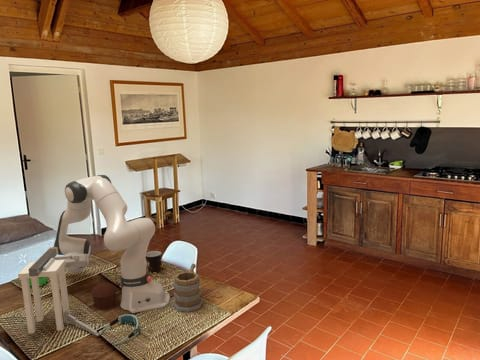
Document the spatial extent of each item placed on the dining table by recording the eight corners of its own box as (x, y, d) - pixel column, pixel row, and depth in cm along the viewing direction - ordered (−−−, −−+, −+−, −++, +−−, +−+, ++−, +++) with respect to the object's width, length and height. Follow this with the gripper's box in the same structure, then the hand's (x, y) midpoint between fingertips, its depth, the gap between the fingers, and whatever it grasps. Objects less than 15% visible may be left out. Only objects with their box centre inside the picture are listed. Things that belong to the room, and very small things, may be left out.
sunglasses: (147, 331, 152) (144, 321, 151) (114, 354, 142) (111, 342, 140) (127, 319, 161) (125, 309, 160) (95, 339, 151) (93, 329, 149)
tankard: (197, 313, 165) (195, 281, 162) (169, 310, 167) (167, 279, 165) (209, 291, 184) (208, 262, 181) (185, 290, 186) (183, 261, 184)
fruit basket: (50, 281, 201) (48, 261, 199) (40, 289, 192) (37, 268, 190) (30, 281, 202) (28, 261, 200) (19, 288, 193) (16, 268, 191)
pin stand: (71, 315, 166) (64, 256, 161) (63, 330, 154) (55, 267, 149) (37, 318, 164) (29, 258, 159) (26, 334, 152) (17, 270, 147)
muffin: (123, 300, 178) (121, 280, 176) (109, 312, 167) (107, 291, 166) (101, 297, 181) (99, 278, 179) (86, 309, 170) (84, 288, 169)
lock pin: (58, 253, 168) (57, 246, 168) (37, 276, 145) (36, 268, 144) (50, 254, 168) (50, 247, 167) (29, 276, 145) (28, 269, 144)
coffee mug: (145, 268, 213) (144, 252, 211) (161, 266, 216) (160, 250, 214) (147, 277, 202) (145, 259, 200) (163, 274, 205) (162, 257, 203)
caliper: (64, 324, 159) (62, 310, 158) (66, 323, 160) (64, 309, 159) (97, 336, 150) (96, 322, 148) (99, 335, 150) (98, 320, 149)
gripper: (49, 257, 189) (38, 252, 176) (91, 254, 192) (84, 249, 179) (48, 270, 187) (37, 266, 174) (91, 266, 190) (83, 262, 177)
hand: (61, 257), depth 176 cm, fingers open, 8 cm apart
